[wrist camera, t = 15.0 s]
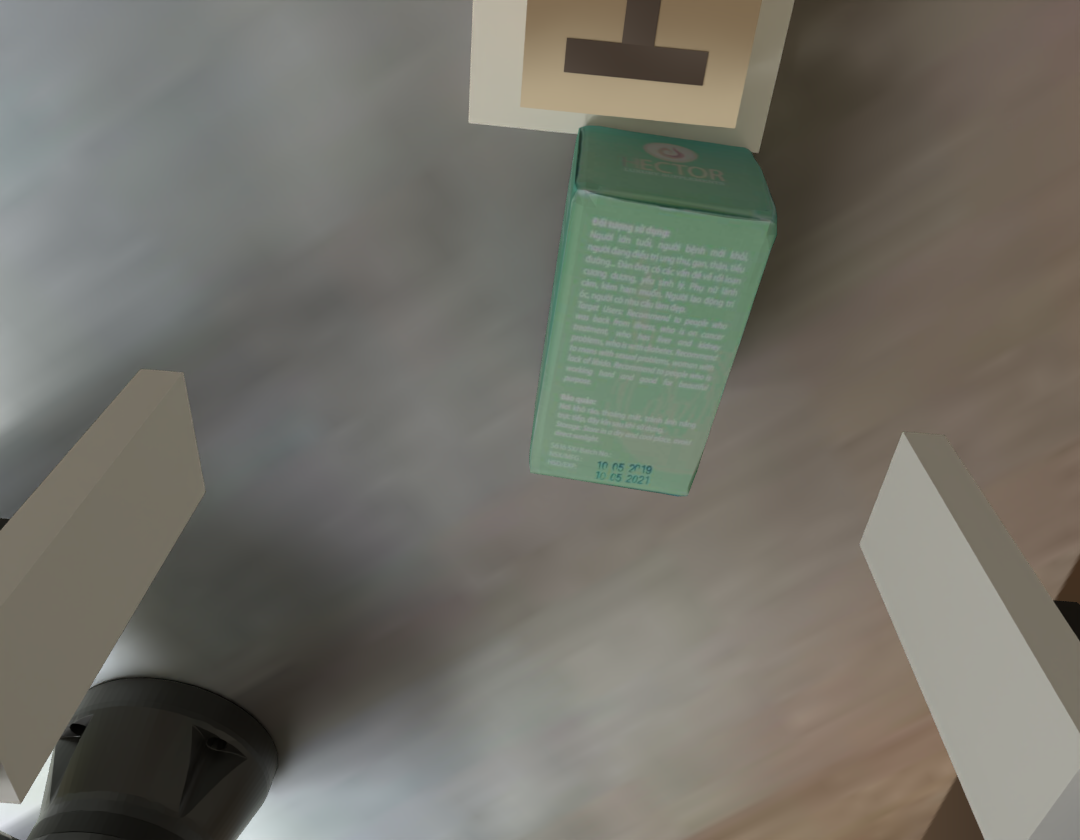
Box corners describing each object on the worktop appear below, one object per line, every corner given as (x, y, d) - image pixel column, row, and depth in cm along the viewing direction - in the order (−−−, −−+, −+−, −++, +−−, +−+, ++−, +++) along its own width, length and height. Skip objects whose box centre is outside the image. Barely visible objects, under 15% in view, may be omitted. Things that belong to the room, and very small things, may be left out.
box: (757, 138, 34) (787, 216, 28) (680, 400, 42) (691, 502, 36) (578, 111, 34) (570, 184, 28) (537, 379, 42) (525, 479, 36)
